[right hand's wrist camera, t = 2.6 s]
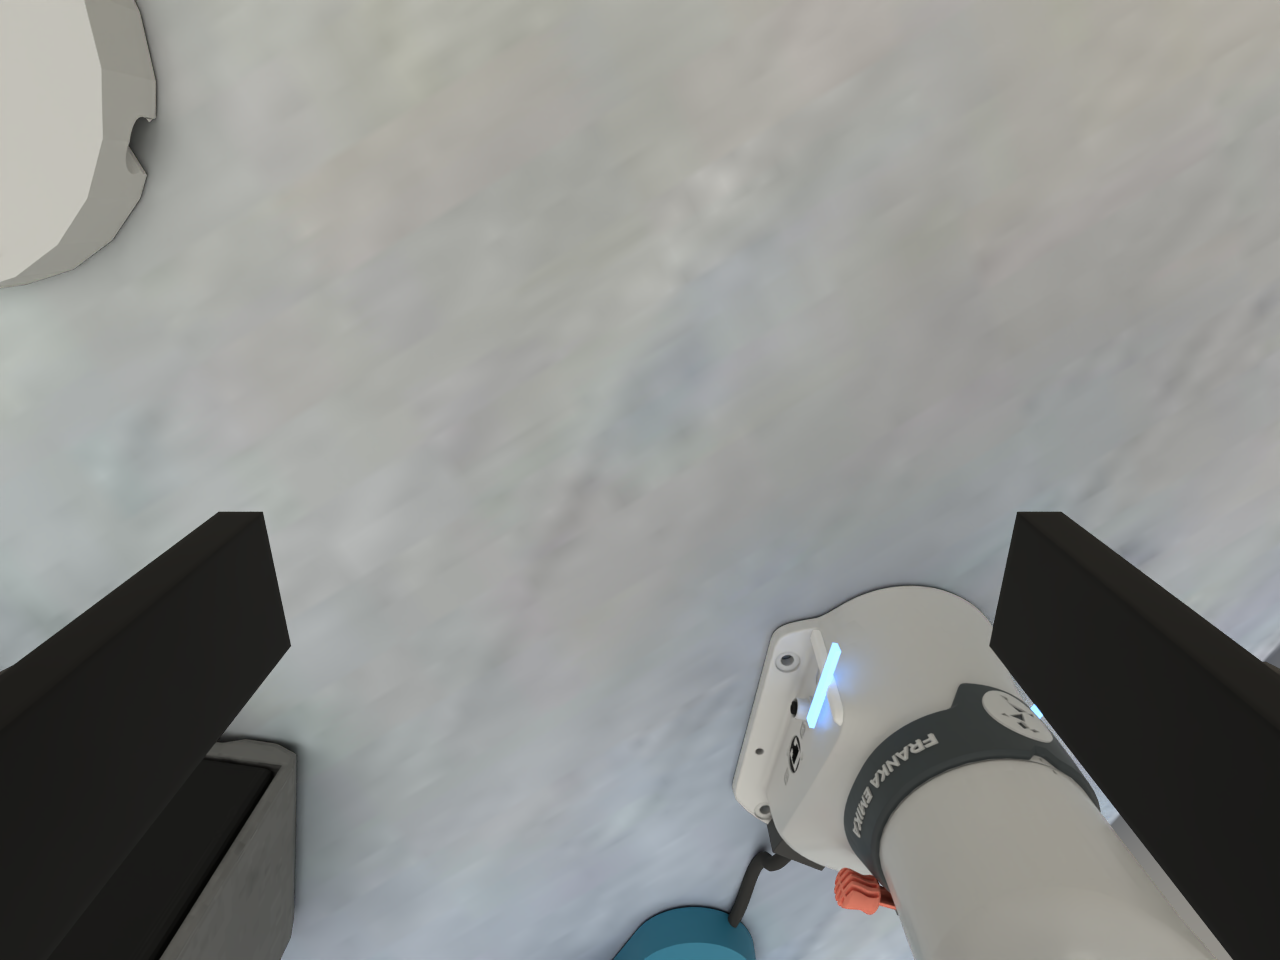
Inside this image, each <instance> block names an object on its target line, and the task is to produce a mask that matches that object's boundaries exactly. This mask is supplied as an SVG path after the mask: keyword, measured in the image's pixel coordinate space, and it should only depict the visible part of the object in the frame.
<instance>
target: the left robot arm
mask: <svg viewBox="0 0 1280 960" xmlns="http://www.w3.org/2000/svg"><path fill="white" fill-rule="evenodd" d="M992 630H993V627H992V625H991V623H990V622H989V621H988V619H987V618H986V617H985V616H984V615H983V613H982V612H981V611H979V610H978V609H977V608H976V607H975V606H974V605H972V604H971V603H969V602H968V601H966V600H965V599H963V598H961V597H959V596H957V595H955V594H952V593H950V592H947V591H944V590H940V589H936V588H931V587H924V586H897V587H890V588H884V589H880V590H876V591H872V592H869V593H866V594H863V595H861V596H858V597H856V598H854V599H852V600H850V601H848V602H846V603H844V604H843V605H841V606H839V607H837V608H836V609H834V610H832V611H831V612H829V613H827V614H825V615H823V616H820V617H818V618H813V619H807V620H802V621H797V622H793V623H789V624H786V625H784V626H781V627H780V628H778V629H777V630H776V631H775V632H774V633H773V635H772V637H771V640H770V644H769V648H768V651H767V655H766V659H765V663H764V666H763V670H762V674H761V678H760V681H759V685H758V689H757V693H756V696H755V700H754V704H753V708H752V711H751V715H750V719H749V722H748V726H747V730H746V734H745V737H744V741H743V745H742V749H741V752H740V756H739V760H738V764H737V767H736V771H735V775H734V779H733V785H732V789H733V792H734V796H735V798H736V800H737V801H738V802H739V803H740V804H741V805H742V806H743V807H744V808H745V809H746V810H747V811H748V812H749V813H751V814H752V815H753V816H755V817H756V818H758V819H759V820H761V821H763V822H764V823H766V824H768V825H767V827H768V832H769V837H770V842H771V846H772V851H773V853H776V854H775V855H773V856H771V855H770V854H769V853H767V852H766V851H764V852H760V853H759V854H757V855H756V856H755V857H754V859H753V860H752V861H751V863H750V865H749V866H748V869H747V871H746V873H745V876H744V879H743V882H742V885H741V888H740V891H739V893H738V896H737V899H736V901H735V904H734V906H733V908H732V911H731V913H730V914H729V916H728V922H729V923H730V925H731V926H732V927H734V928H736V927H737V926H738V924H739V923H740V921H741V919H742V917H743V915H744V913H745V911H746V909H747V906H748V903H749V901H750V898H751V895H752V892H753V889H754V886H755V883H756V881H757V878H758V876H759V874H760V872H761V870H762V869H763V868H765V869H767V870H768V871H775V870H779V869H781V868H782V867H784V866H785V865H786V864H787V863H788V862H790V861H791V860H794V861H797V862H800V863H802V864H805V865H808V866H810V867H813V868H815V869H818V870H821V871H822V870H823V869H824V867H827V868H830V869H833V870H836V871H839V873H838V875H837V877H836V880H835V885H836V886H835V889H834V891H835V894H836V895H835V898H836V901H838V902H837V903H838V905H839V906H841V907H842V908H845V909H856V910H861V911H863V912H864V913H866V914H869V915H871V914H873V913H875V912H876V910H877V909H878V907H879V905H880V906H884V907H887V908H891V909H895V910H896V913H897V915H898V916H899V918H900V921H901V924H902V926H903V929H904V932H905V935H906V938H907V940H908V943H909V946H910V949H911V951H912V954H913V957H914V960H1218V959H1217V958H1216V957H1215V956H1214V955H1213V954H1212V953H1211V951H1210V950H1209V949H1208V948H1207V947H1206V946H1205V945H1204V943H1203V942H1202V941H1201V940H1200V939H1199V938H1198V937H1197V936H1196V934H1195V933H1194V932H1193V931H1192V930H1191V929H1190V928H1189V926H1188V925H1187V924H1186V923H1185V922H1184V920H1183V919H1182V918H1181V917H1180V916H1179V914H1178V913H1177V912H1176V911H1175V909H1174V908H1173V907H1172V905H1171V904H1170V903H1169V901H1168V900H1167V899H1166V898H1165V896H1164V895H1163V894H1162V892H1161V891H1160V890H1159V888H1158V887H1157V886H1156V885H1155V883H1154V882H1153V881H1152V879H1151V878H1150V877H1149V875H1148V874H1147V873H1146V872H1145V870H1144V869H1143V868H1142V866H1141V865H1140V864H1139V862H1138V861H1137V860H1136V859H1135V857H1134V856H1133V855H1132V853H1131V852H1130V851H1129V849H1128V848H1127V847H1126V845H1125V844H1124V843H1123V842H1122V840H1121V839H1120V838H1119V836H1118V835H1117V834H1116V832H1115V831H1114V830H1113V828H1112V827H1111V826H1110V824H1109V823H1108V822H1107V820H1106V819H1105V818H1104V817H1103V815H1102V814H1101V811H1100V807H1099V802H1098V799H1097V797H1096V795H1095V792H1094V791H1093V789H1092V787H1091V786H1090V784H1089V783H1088V781H1087V780H1086V778H1085V777H1084V776H1083V774H1082V773H1081V771H1080V770H1079V769H1078V767H1077V766H1076V764H1075V763H1074V761H1073V760H1072V759H1071V757H1070V756H1069V755H1068V753H1067V752H1066V751H1065V749H1064V748H1063V747H1062V745H1061V744H1060V743H1059V741H1058V740H1057V739H1056V738H1055V736H1054V735H1053V734H1052V732H1051V731H1050V730H1049V729H1048V728H1047V726H1046V725H1045V724H1044V723H1043V722H1042V721H1041V720H1040V718H1041V717H1042V716H1043V715H1042V713H1041V712H1040V711H1039V709H1038V708H1037V707H1036V706H1035V704H1034V705H1033V706H1032V707H1031V708H1029V707H1028V706H1027V705H1026V704H1025V703H1024V701H1023V699H1022V698H1021V696H1020V694H1019V692H1018V690H1017V688H1016V686H1015V684H1014V682H1013V680H1012V678H1011V675H1010V673H1009V671H1008V670H1007V668H1006V667H1005V666H1004V664H1003V663H1002V662H1001V661H1000V659H999V658H998V657H997V655H996V654H995V653H994V652H993V650H992V649H991V648H990V646H989V644H990V639H991V634H992ZM785 655H790V656H791V657H790V658H788V659H782V657H783V656H785ZM764 805H767V806H764ZM878 881H879V882H878ZM879 883H880V884H881V885H882V886H883V887H882V886H880V885H879Z"/></svg>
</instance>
